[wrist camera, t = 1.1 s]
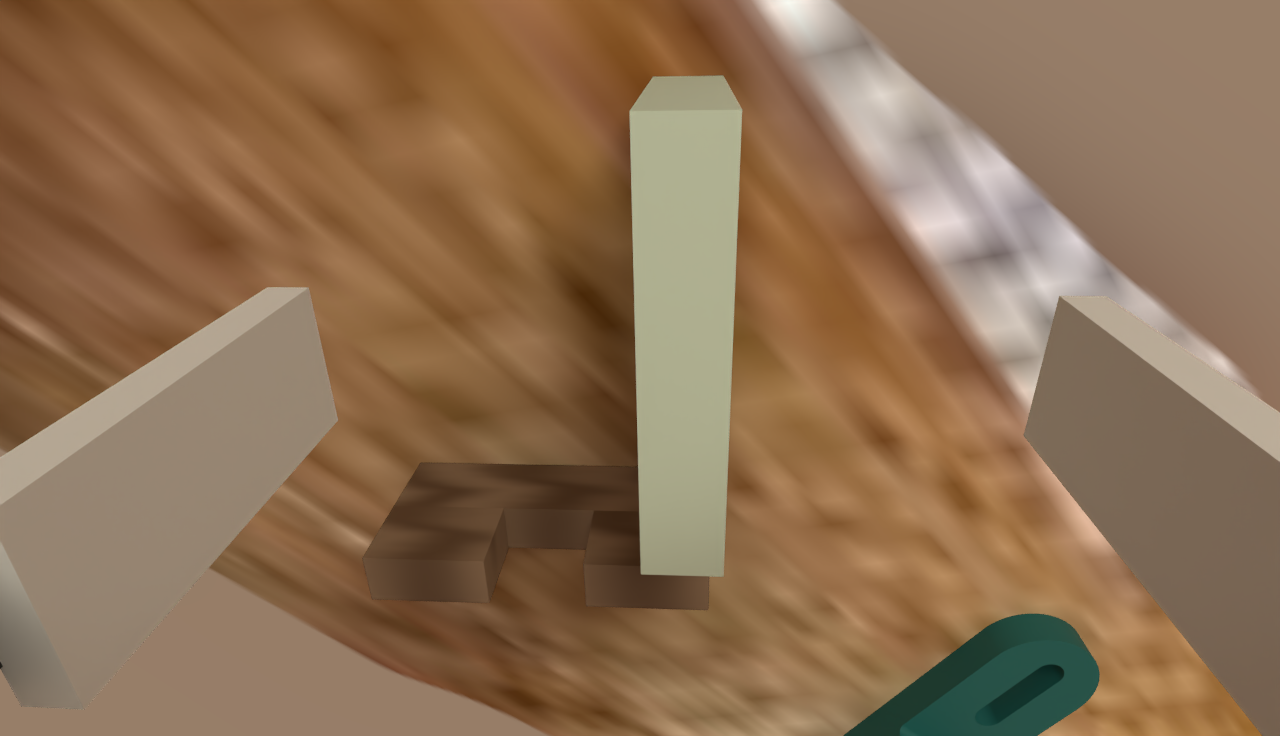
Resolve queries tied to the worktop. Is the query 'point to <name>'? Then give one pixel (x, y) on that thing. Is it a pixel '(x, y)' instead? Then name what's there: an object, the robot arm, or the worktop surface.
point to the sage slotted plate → (684, 316)
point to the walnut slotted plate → (518, 534)
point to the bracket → (995, 684)
